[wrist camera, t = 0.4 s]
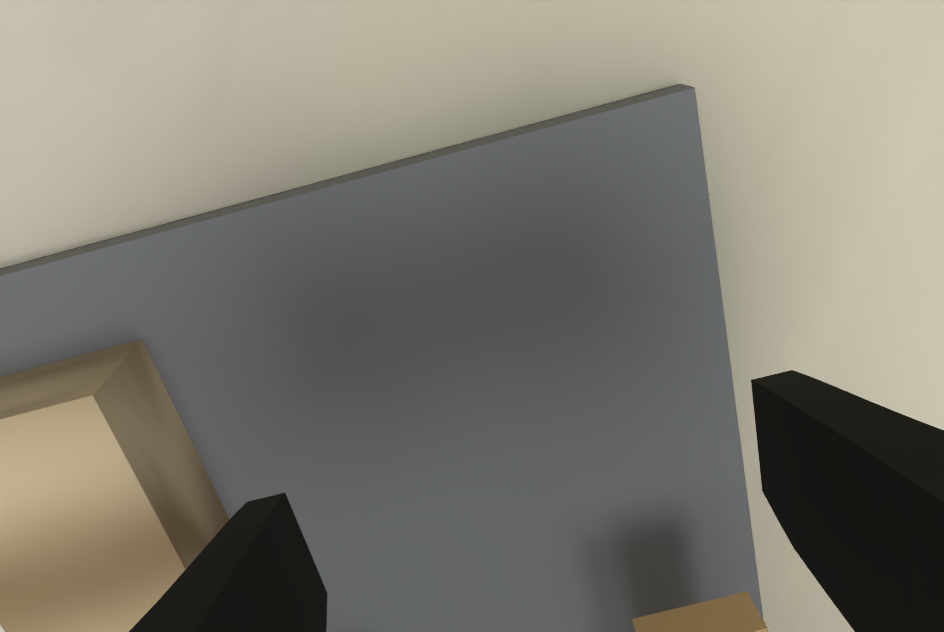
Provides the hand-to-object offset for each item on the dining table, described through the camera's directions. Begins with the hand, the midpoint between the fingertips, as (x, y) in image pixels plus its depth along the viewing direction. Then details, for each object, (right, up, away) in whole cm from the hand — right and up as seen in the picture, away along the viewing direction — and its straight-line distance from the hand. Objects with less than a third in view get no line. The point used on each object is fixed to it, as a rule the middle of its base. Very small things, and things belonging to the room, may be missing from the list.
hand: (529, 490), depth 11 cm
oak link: (-10, -5, +11) cm, 15 cm away
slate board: (-3, -4, +12) cm, 13 cm away
